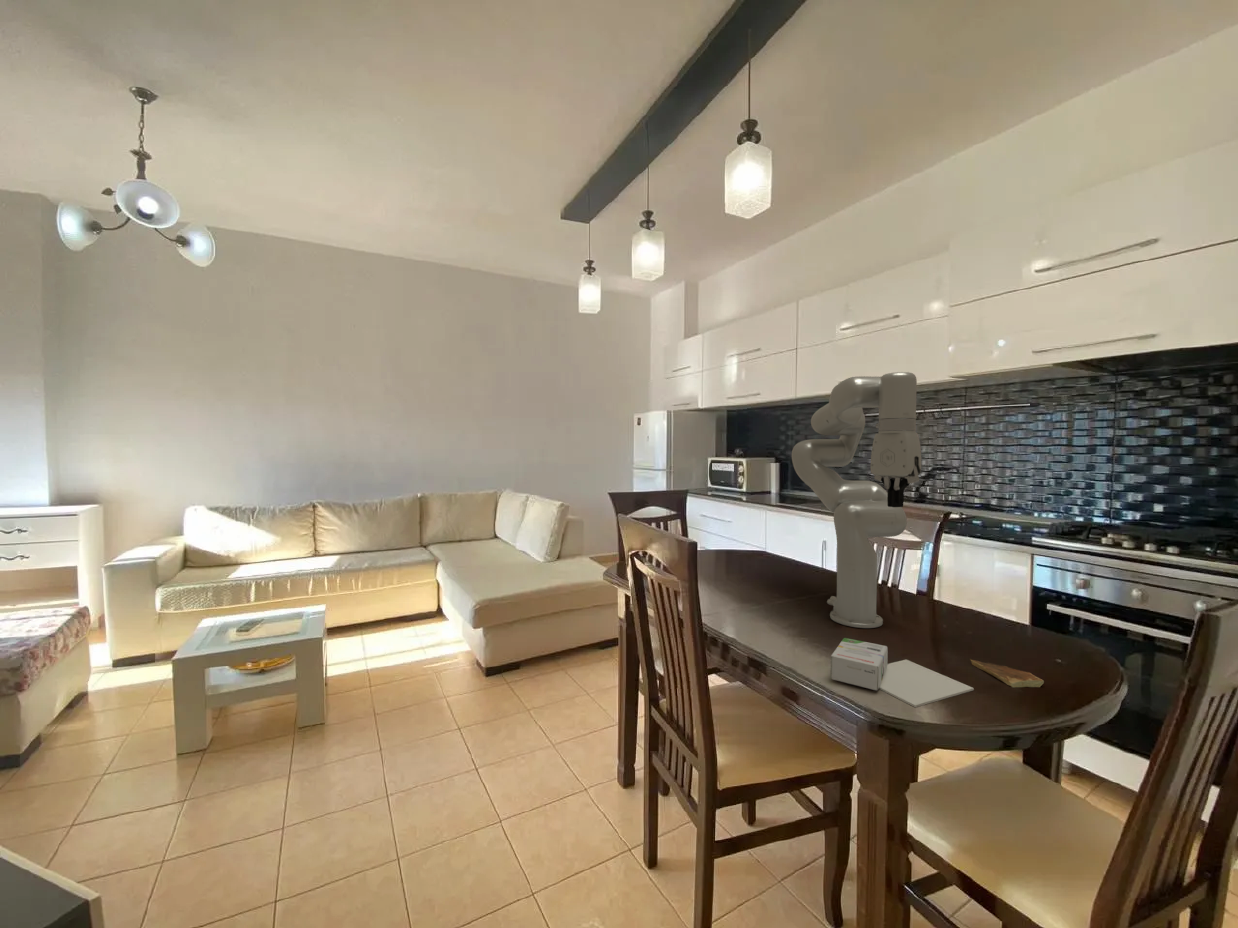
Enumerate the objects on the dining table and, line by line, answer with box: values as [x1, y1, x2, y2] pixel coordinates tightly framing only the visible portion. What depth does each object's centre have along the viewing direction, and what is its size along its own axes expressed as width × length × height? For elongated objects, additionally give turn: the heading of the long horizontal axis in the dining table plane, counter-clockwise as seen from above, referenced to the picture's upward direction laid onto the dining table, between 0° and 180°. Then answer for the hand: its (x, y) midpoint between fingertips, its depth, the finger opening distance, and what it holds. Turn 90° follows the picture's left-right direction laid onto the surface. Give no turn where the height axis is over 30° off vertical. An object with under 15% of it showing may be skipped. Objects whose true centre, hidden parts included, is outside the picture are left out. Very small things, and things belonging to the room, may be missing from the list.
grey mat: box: [878, 659, 975, 708], centre depth 99 cm, size 14×16×1 cm
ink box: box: [830, 637, 889, 691], centre depth 102 cm, size 8×5×12 cm
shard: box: [969, 658, 1045, 688], centre depth 103 cm, size 11×8×2 cm
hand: (895, 506), depth 118 cm, fingers closed
